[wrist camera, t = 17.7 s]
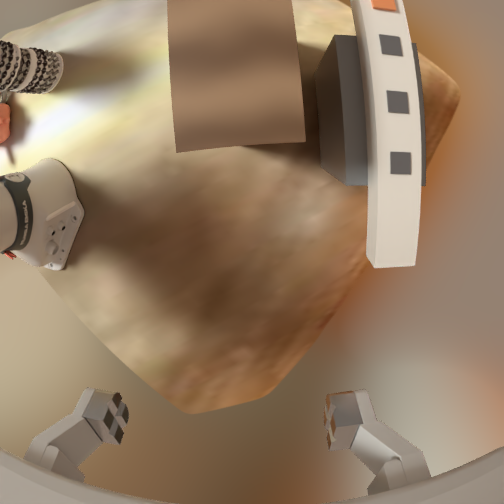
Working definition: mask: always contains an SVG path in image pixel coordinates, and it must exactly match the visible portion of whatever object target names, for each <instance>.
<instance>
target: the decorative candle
mask: <svg viewBox="0 0 504 504" xmlns="http://www.w3.org/2000/svg"><path fill="white" fill-rule="evenodd" d="M0 44H1V46H0V92H3V91H5V90H10V91H16V92H17V93H18V92H20V93H24V92H26V93H32V94H35V93H37V94H45V93H49V92H50V91H51V90H53V89H54V88H55V87H56V85H57V84H58V83H59V81H60V79H61V76H62V74H63V68H64V63H63V58H62V57H61V56H60V54H58V53H54V52H52V51H51V52H48V50H46V51H45V52H44V51H43V50H42V49H36V48H29V49H28V48H19V47H18V45H15V44H11V43H10V42H7V43H6V42H3V41H0ZM7 45H8V46H7Z"/></svg>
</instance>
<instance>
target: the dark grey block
mask: <svg viewBox="0 0 504 504" xmlns="http://www.w3.org/2000/svg"><path fill="white" fill-rule="evenodd" d="M411 44H412V50H413V57H414V63H415V71H416V79H417V88H418V98H419V110H420V126H421V186H425V183H426V137H425V116H424V102H423V91H422V82H421V74H420V66H419V59H418V53H417V47H416V43H411ZM314 77H315V87H316V98H317V111H318V124H319V140H320V159H321V168H323V169H324V170H326V171H327V172H328V173H330V174H331V175H332V176H334V177H335V178H337V179H338V180H339V181H341V182H342V183H343V184H345V185H346V186H347V185H368V158H367V134H366V117H365V104H364V93H363V83H362V74H361V65H360V57H359V50H358V43H357V37H356V36H350V35H334V36H333V38H332V40H331V42H330V44H329V46H328V48H327V50H326V52H325V54H324V56H323V58H322V60H321V62H320V64H319V66H318V68H317V70H316V72H315V74H314Z"/></svg>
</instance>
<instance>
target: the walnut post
mask: <svg viewBox="0 0 504 504" xmlns="http://www.w3.org/2000/svg"><path fill="white" fill-rule="evenodd" d="M167 7H168V44H169V65H170V82H171V96H172V109H173V121H174V132H175V143H176V153H179V152H187V151H194V150H203V149H212V148H221V147H232V146H243V145H256V144H272V143H292V142H306V137H305V123H304V110H303V97H302V86H301V76H300V66H299V56H298V47H297V39H296V31H295V23H294V15H293V8H292V1H291V0H167Z"/></svg>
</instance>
